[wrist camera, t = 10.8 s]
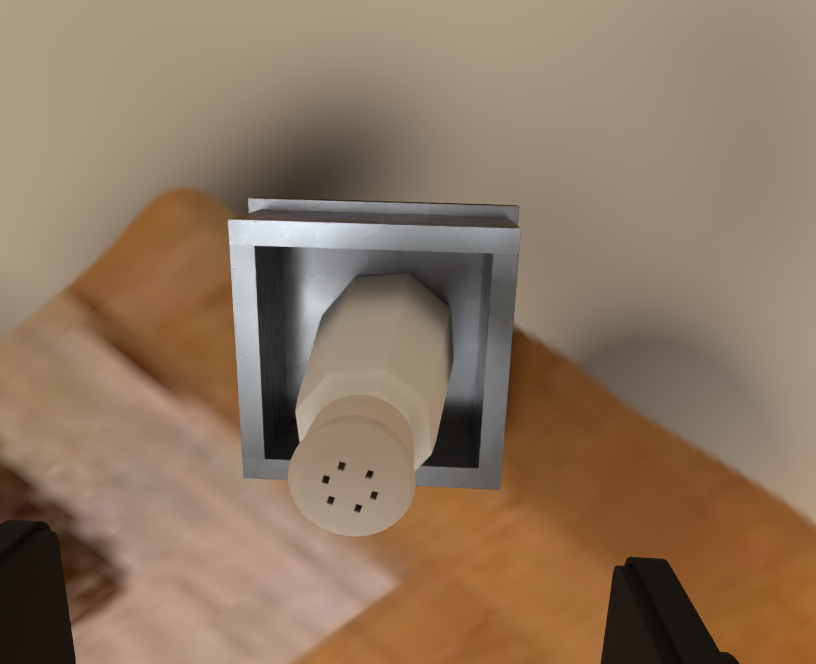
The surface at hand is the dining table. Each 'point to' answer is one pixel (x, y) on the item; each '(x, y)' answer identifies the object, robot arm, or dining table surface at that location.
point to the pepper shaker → (370, 403)
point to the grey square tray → (327, 278)
